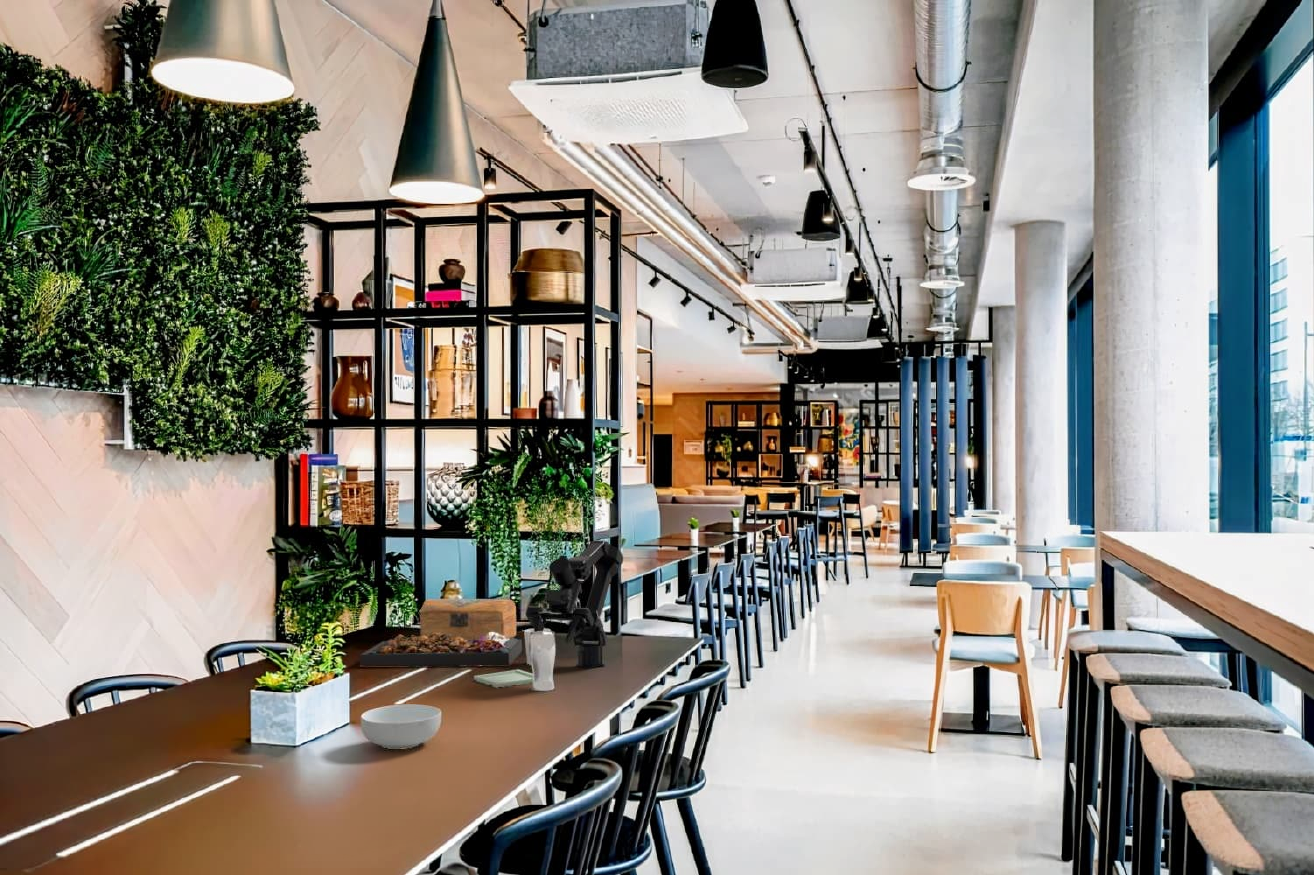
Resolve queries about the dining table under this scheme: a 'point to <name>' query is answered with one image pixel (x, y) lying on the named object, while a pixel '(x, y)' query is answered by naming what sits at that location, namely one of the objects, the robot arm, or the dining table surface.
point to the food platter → (443, 651)
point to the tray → (505, 678)
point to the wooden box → (468, 617)
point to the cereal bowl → (400, 725)
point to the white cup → (527, 642)
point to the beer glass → (542, 659)
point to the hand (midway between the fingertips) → (550, 642)
